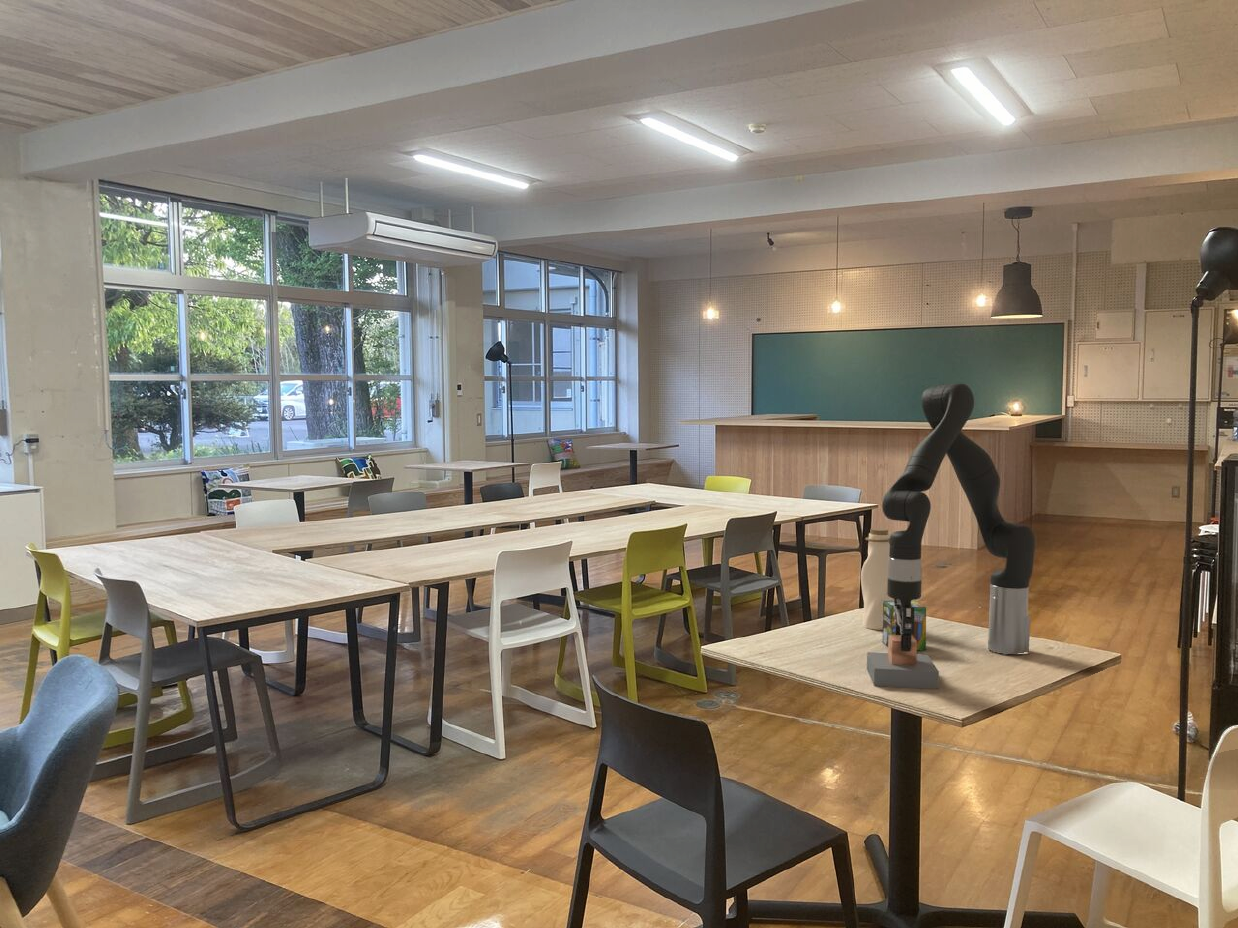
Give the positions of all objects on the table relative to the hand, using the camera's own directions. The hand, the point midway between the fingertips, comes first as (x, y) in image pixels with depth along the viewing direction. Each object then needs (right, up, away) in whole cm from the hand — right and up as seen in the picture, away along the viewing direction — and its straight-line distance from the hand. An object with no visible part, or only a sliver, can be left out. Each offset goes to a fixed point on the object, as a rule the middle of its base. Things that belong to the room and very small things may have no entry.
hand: (902, 646), depth 219 cm
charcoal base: (0, -8, +1) cm, 8 cm away
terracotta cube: (0, -4, 0) cm, 4 cm away
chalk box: (+9, -6, +29) cm, 31 cm away
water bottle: (+8, -4, +52) cm, 53 cm away
